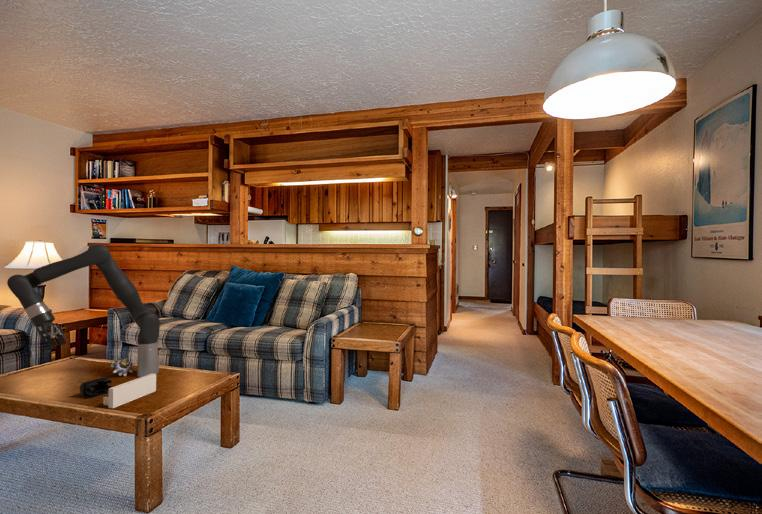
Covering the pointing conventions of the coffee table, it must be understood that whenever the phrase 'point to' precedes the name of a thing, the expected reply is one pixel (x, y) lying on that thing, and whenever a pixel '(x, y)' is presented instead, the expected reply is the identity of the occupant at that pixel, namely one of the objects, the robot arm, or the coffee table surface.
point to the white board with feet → (130, 391)
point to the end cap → (95, 387)
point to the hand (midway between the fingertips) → (59, 345)
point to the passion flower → (122, 366)
